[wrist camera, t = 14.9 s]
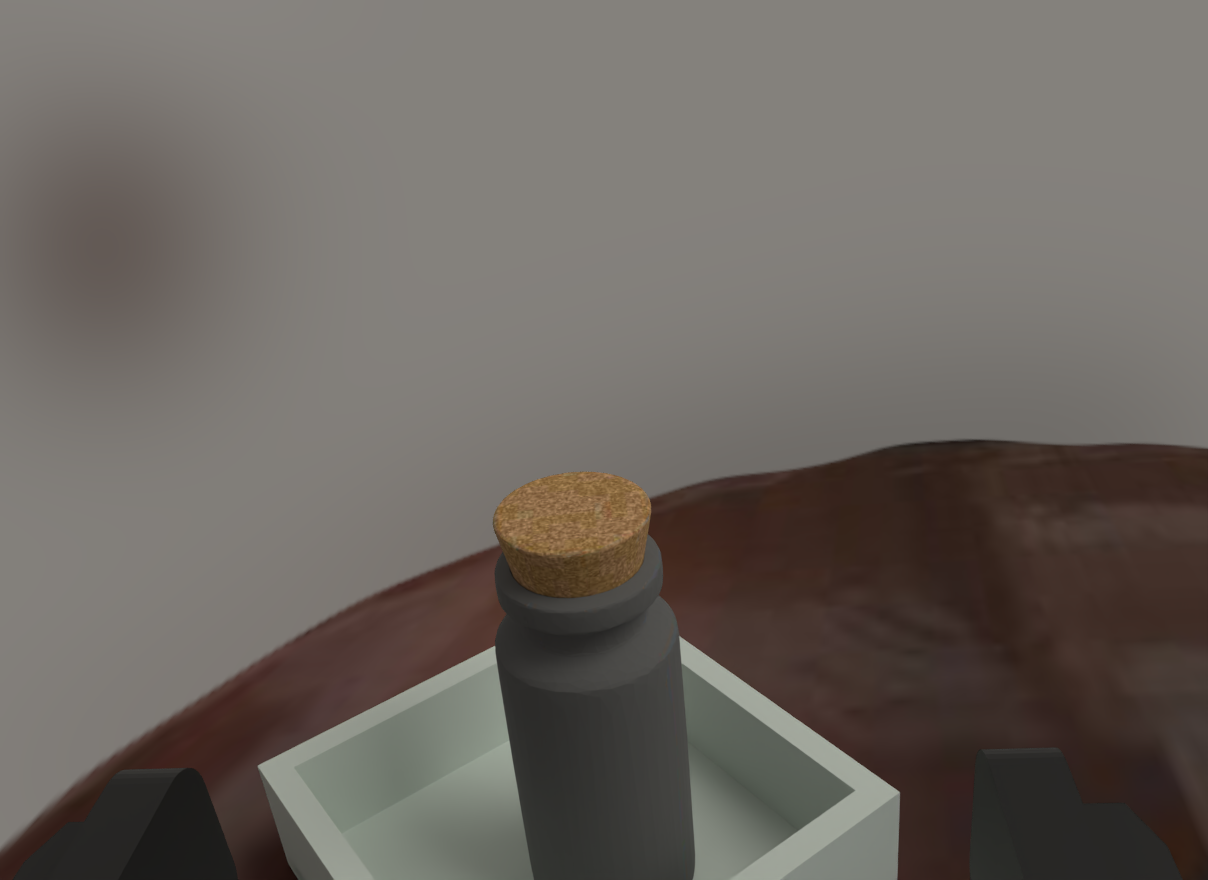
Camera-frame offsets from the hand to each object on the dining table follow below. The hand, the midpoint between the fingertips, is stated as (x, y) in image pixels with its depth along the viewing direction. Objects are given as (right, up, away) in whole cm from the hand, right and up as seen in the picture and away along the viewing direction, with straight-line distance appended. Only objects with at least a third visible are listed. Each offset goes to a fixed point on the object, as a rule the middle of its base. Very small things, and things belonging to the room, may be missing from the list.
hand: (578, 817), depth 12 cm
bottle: (+1, -12, +29) cm, 31 cm away
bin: (-1, -12, +30) cm, 32 cm away
